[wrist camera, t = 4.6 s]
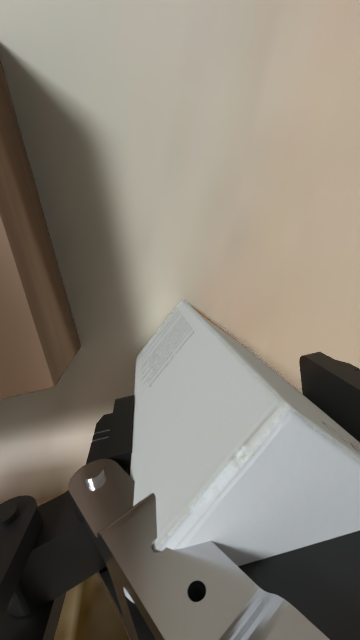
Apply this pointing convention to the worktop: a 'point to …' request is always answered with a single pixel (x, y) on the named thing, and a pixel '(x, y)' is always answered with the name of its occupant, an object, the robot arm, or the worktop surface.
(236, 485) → the skincare box
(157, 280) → the worktop surface
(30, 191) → the holder
